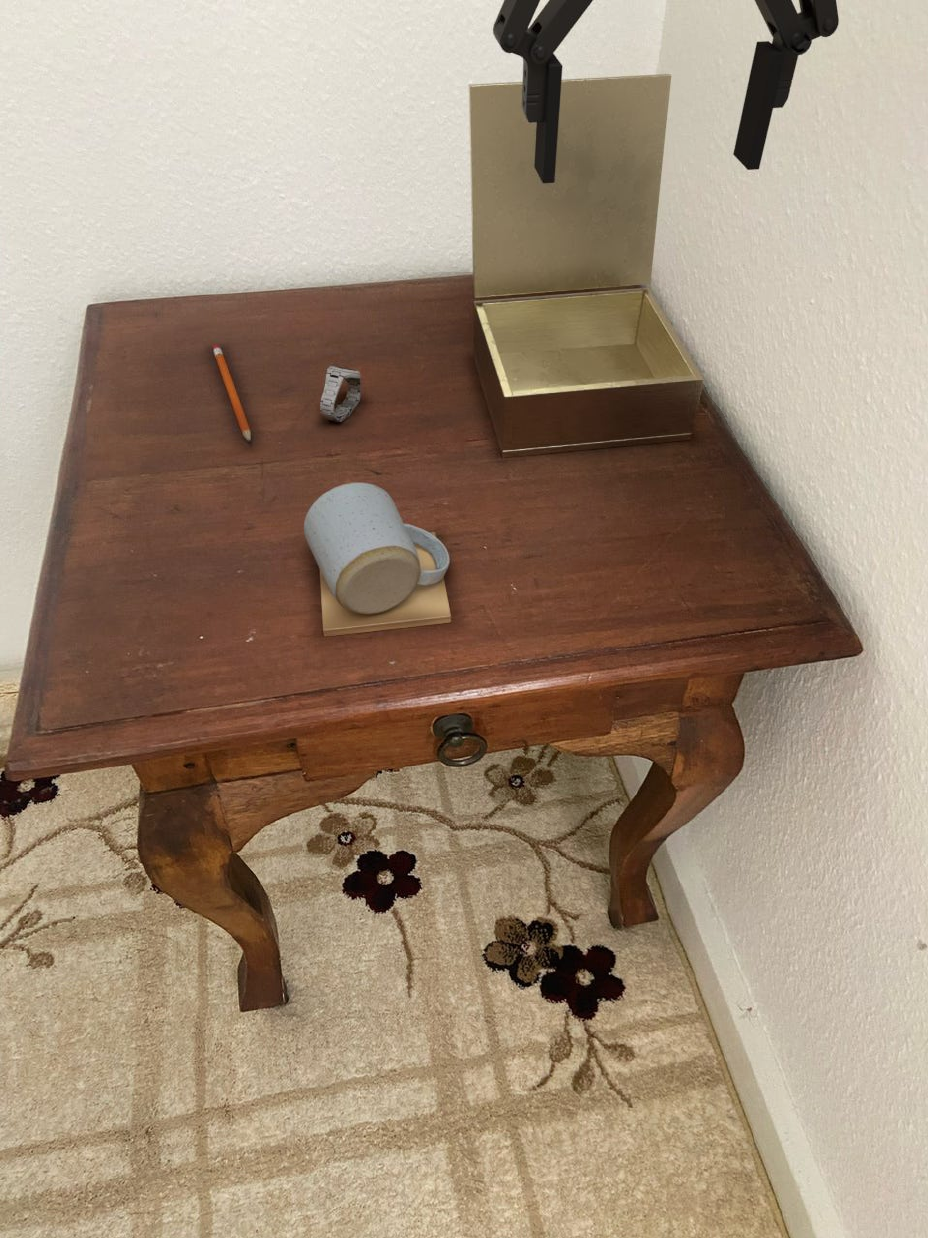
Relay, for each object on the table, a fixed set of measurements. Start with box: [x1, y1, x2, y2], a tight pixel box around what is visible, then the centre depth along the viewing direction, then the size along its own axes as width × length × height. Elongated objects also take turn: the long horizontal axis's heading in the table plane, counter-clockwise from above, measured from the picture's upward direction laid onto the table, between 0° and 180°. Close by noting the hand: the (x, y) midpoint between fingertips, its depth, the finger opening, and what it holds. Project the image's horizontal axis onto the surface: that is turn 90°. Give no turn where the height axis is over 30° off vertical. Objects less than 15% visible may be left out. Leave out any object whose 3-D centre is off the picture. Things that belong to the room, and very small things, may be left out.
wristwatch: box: [319, 365, 363, 423], centre depth 86 cm, size 4×6×5 cm, turn 158°
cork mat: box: [319, 531, 452, 638], centre depth 71 cm, size 10×10×1 cm
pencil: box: [211, 344, 252, 445], centre depth 90 cm, size 1×19×1 cm, turn 21°
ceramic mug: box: [303, 482, 451, 614], centre depth 68 cm, size 11×8×8 cm
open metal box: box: [473, 287, 705, 459], centre depth 87 cm, size 18×19×7 cm
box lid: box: [468, 73, 672, 298], centre depth 86 cm, size 19×19×5 cm
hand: (646, 168), depth 57 cm, fingers open, 13 cm apart
